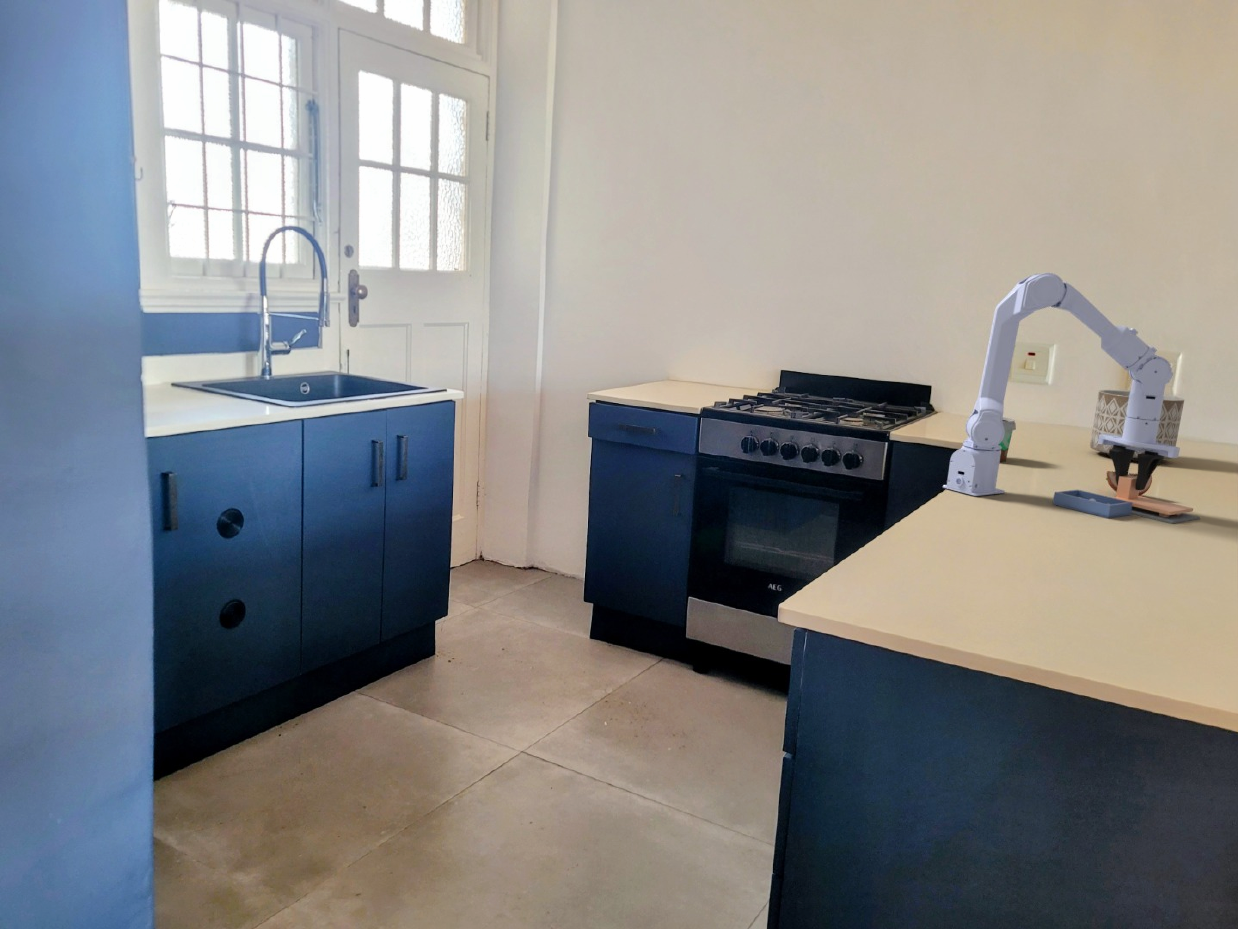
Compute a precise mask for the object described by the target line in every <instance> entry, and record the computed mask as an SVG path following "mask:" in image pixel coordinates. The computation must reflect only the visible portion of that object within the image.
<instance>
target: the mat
mask: <svg viewBox="0 0 1238 929" xmlns="http://www.w3.org/2000/svg"><path fill="white" fill-rule="evenodd" d="M1131 515H1135V516H1139V517H1143V518H1147V519H1151V520H1156V521H1160V522H1163V523H1168V524H1171V525H1172V524H1178V523H1184V522H1189V521H1195V520H1196V521H1197V520H1200V519H1201V517H1200V516H1198V515H1193V514H1190V513H1181V514H1180V515H1169V517H1162V516H1159V512H1155V511H1151V510H1147V509H1142V508H1138V507H1134V506H1132V509H1131Z"/></svg>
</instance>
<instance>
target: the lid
mask: <svg viewBox="0 0 1238 929" xmlns="http://www.w3.org/2000/svg"><path fill="white" fill-rule="evenodd" d="M1136 479H1137V477H1134V476H1130V475H1128V476H1119V482H1118V487H1117V492H1115V493H1116V494H1115V496H1110V497H1111V498H1116V499H1120V500H1124V501H1129V502H1133V504H1132V506H1134V507H1138V508H1142V509H1147V510H1151V511H1155V512H1159V516H1162V517H1169V515H1180V514H1181V513H1185V514H1187V513H1193V511H1194V507H1189V506H1185V505H1180V504H1176V503H1173V502H1172V503H1171V502H1166V501H1162V500H1158V499H1154V498H1150V497H1145V496H1142V495H1140V496H1138V495H1139V490H1135V486H1136Z"/></svg>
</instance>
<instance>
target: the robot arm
mask: <svg viewBox="0 0 1238 929" xmlns="http://www.w3.org/2000/svg"><path fill="white" fill-rule="evenodd" d="M1049 307H1050V308H1053V309H1057V310H1062V311H1065V312H1069V313H1070V314H1071V315H1073V316H1074V317H1075V318H1076V319H1077V320H1079V321H1080V322H1081V323H1082V324H1084V325H1085V326H1086V327H1087V328H1088V329H1089V330H1091V332H1093V333H1094V334H1096V336H1098V337H1099V338H1100V348H1101V349H1102V351H1104V352H1105V353H1106V354H1107V355H1108V356H1110V357H1111V359H1113V360H1114V361H1115V362H1116V363H1118V365H1120V366H1121V367H1122V368H1123V369H1124V371H1128V376H1129V377H1130V378H1131V379H1132V381H1131V388H1130V391H1131V392H1130V395H1129V401H1128V406H1127V412H1126V418H1125V424H1124V429H1123V435H1122V437H1121V436H1113V435H1107V434H1100V435H1099V440H1098V444H1101V445H1109V446H1113V448H1112V449H1110V450H1109V454H1110V456H1111V457H1110V458H1111V461H1112V463H1113V467H1114V472H1115V473H1116V484H1117V486H1118V482H1119V476H1128V474H1129V472H1130V466H1131V462H1132V461H1131V460H1132V457H1133V455H1134V453H1135V450H1136V451H1141V452H1145V453H1144V454H1143V453H1142V454H1138V456H1137V457H1138V462H1137V473H1136V474H1137V479H1136V486H1135V490H1144V489H1145V487H1146V484H1147V482H1148V480H1149V478H1150V476H1151V475H1152V474H1153V473H1154V471H1155V470H1156V468H1158V466H1159V465H1160V464H1161V462H1162V461H1163V459H1164V456H1167V457H1170V458H1172V459H1175V458H1176V459H1177V458H1179V454H1180V449H1181V447H1178V446H1176V447H1174V446H1170V445H1166V444H1161V443H1157V442H1156V437H1157V431H1158V426H1159V420H1160V415H1161V409H1162V404H1163V398H1164V395H1165V390H1166V385H1167V384H1169V382H1170V381H1171V380H1172V378H1173V376H1174V372H1172V367H1171V364H1170V363H1171V362H1169V361H1168V359H1166V358H1164V357H1162V356H1160V355H1156V352H1157V351H1158V350H1157V349H1156V347H1155V346H1151V347H1150V346H1149V345H1148V344H1147V343H1146V342H1145V341H1144V340H1142V339H1141V338H1140V337H1139V336H1138V333H1139V331H1138V330H1137V329H1135V327H1130V328H1129V327H1128V326H1127V325H1114V324H1113V323H1112V322H1111V321H1110V320H1109V319H1108V318H1107V317H1106V316H1105V315H1104V314H1103V313H1102V312H1101V311H1100V310H1099V309H1098V308H1097V307H1096V306H1095V305H1093V303H1091V302H1090V300H1088V299H1087V298H1086V296H1084V295H1083V294H1082V293H1081V292H1080V291H1079V290H1078V289H1076V288H1075V287H1074V286H1072V285H1071V284H1070V283H1068V282H1066V281H1063V279H1062V278H1061V277H1060V276H1059V275H1057V274H1056V273H1052V272H1043V273H1035V274H1031V275H1029V276H1028V277H1026V278H1024V279H1022V280H1020V281H1018V282H1017V283H1016V284H1015V286H1014V287H1013V289H1011V290H1010V291H1009V292H1008V293H1007V295H1006V296H1004V298H1003V299H1002V300H1001V301H1000V302H999V303H998V304H997V305H996V307H995V309H994V312H993V318H992V323H991V328H990V332H989V333H990V335H989V339H988V343H987V344H988V345H987V349H986V354H985V360H984V366H983V369H982V375H981V380H980V386H979V390H978V396H977V398H976V401H975V403H974V406H973V410H972V413H971V414H970V415H969V417H968V418H967V420H966V422H965V432H966V434H967V436H968V437H967V438H966V439H965V440H963V442H962V446H961V448H959V449H957V450H956V451H954V452H953V453H952V454H951V456H950V460H949V466H948V472H947V480H946V484H943V485H942V488H943V489H947V490H952V491H955V492H958V493H963V494H967V495H970V496H975V497H979V496H980V497H981V496H988V495H996V494H1004V493H1005V492H1006V491H1005V490H1003V489H1001V488H997V482H998V474H999V468H1000V467H999V466H1000V463H1001V462H1000V455H1001V448H1002V447H1001V446H999V445H998V444H1000V443H1001V441H1002V440H1003V438H1004V435H1005V429H1004V426H1003V422H1002V418H1003V417H1004V400H1005V396H1006V391H1007V387H1008V381H1009V377H1010V371H1011V366H1012V361H1013V357H1014V351H1015V347H1016V340H1017V336H1018V330H1019V326H1020V322H1021V321H1022V320H1024V319H1025V318H1027V317H1028V316H1030V315H1031V314H1033V313H1035V312H1036V311H1039V310H1043V309H1046V308H1049ZM1125 445H1129V446H1125ZM1130 446H1135V447H1130ZM1136 447H1142V448H1145V449H1141V448H1136ZM1164 460H1165V459H1164ZM1152 476H1153V475H1152Z"/></svg>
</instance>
